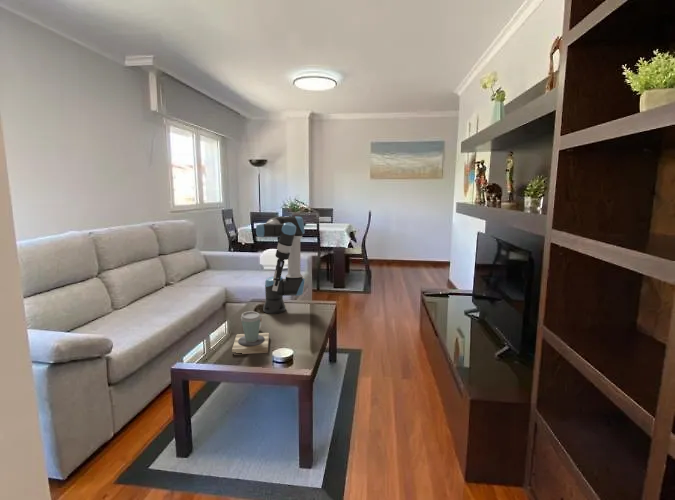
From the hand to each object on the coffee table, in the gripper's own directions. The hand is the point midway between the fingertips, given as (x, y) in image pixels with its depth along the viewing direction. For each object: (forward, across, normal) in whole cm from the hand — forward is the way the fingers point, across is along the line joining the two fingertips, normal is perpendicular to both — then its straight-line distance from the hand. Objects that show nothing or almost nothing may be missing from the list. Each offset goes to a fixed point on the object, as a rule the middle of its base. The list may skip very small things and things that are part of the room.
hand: (274, 285), depth 203 cm
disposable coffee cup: (+28, -15, +6) cm, 32 cm away
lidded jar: (+33, +4, +6) cm, 34 cm away
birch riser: (+31, -15, +5) cm, 35 cm away
